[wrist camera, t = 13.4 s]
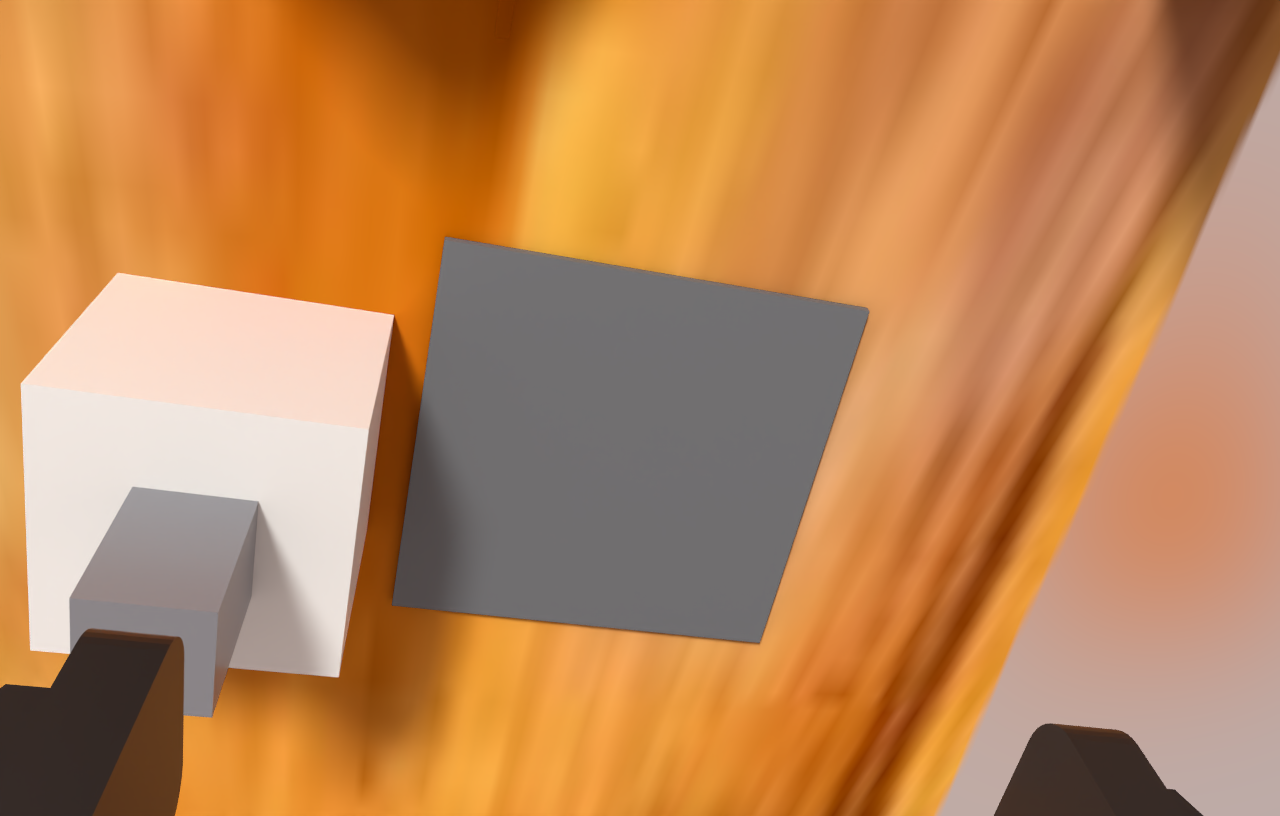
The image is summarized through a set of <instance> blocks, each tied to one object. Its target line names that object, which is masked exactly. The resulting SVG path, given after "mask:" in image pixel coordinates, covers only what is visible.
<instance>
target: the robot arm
mask: <svg viewBox="0 0 1280 816" xmlns="http://www.w3.org/2000/svg"><path fill="white" fill-rule="evenodd" d="M183 714H184V644H183V640H182V639H181V637H178V636H168V635H158V634H147V633H137V632H127V631H116V630H106V629H96V628H90V629H87V630H86V631H85V632H84V633H83V634H82V635H81V636H80V638H79V639H78V641H77V643H76V644H75V646H74V648H73V650H72V651H71V653H70V655H69V657H68V658H67V660H66V662H65V664H64V665H63V667H62V669H61V670H60V672H59V674H58V676H57V677H56V679H55V681H54V683H53V684H52V686H51V688H43V687H32V686H21V685H9V684H5V685H4V686H3V687H1V688H0V816H175V812H176V808H177V803H178V798H179V792H180V786H181V778H182V766H183ZM994 816H1203V815H1202V814H1201V813H1199V811H1197V810H1196V809H1195V808H1194V807H1193V806H1192V805H1191V804H1190V803H1189V802H1188V801H1186V800H1185V799H1184V798H1183V797H1182V796H1181V795H1180V794H1179V793H1178V792H1177V791H1176V790H1173V789H1166V787H1165V786H1164V784H1163V782H1162V781H1161V779H1160V778H1159V776H1158V775H1157V773H1156V772H1155V770H1154V769H1153V767H1152V766H1151V764H1150V763H1149V761H1148V760H1147V758H1146V757H1145V755H1144V754H1143V752H1142V751H1141V750H1140V748H1139V746H1138V745H1137V744H1136V742H1135V741H1134V740H1133V739H1132V738H1131V737H1130V736H1129V735H1128V734H1126V733H1124V732H1122V731H1119V730H1112V729H1102V728H1091V727H1081V726H1071V725H1061V724H1045V725H1042V726H1040V727H1039V728H1038V729H1036V731H1035V732H1034V733H1033V734H1032V737H1031V738H1030V740H1029V742H1028V744H1027V746H1026V748H1025V751H1024V752H1023V755H1022V757H1021V759H1020V761H1019V763H1018V765H1017V768H1016V769H1015V772H1014V774H1013V776H1012V778H1011V780H1010V782H1009V784H1008V786H1007V789H1006V791H1005V793H1004V795H1003V797H1002V799H1001V802H1000V803H999V806H998V808H997V810H996V812H995V814H994Z"/></svg>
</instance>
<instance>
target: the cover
mask: <svg viewBox="0 0 1280 816" xmlns="http://www.w3.org/2000/svg"><path fill="white" fill-rule="evenodd" d="M393 320H394V315H391V314H384V313H378V312H371V311H365V310H358V309H352V308H345V307H339V306H332V305H326V304H319V303H313V302H306V301H299V300H293V299H286V298H280V297H273V296H267V295H260V294H254V293H247V292H241V291H234V290H227V289H221V288H214V287H208V286H201V285H195V284H188V283H182V282H175V281H169V280H162V279H156V278H149V277H142V276H136V275H129V274H123V273H117V274H116V276H115V277H114V278H113V279H112V280H111V281H110V282H109V284H108V285H107V286H106V287H105V288H104V289H103V290H102V291H101V293H100V294H99V295H98V296H97V297H96V298H95V299H94V301H93V302H92V303H91V304H90V305H89V306H88V307H87V309H86V310H85V311H84V312H83V313H82V314H81V315H80V317H79V318H78V319H77V320H76V321H75V322H74V323H73V325H72V326H71V327H70V328H69V329H68V330H67V331H66V333H65V334H64V335H63V336H62V337H61V338H60V339H59V341H58V342H57V343H56V344H55V345H54V346H53V347H52V349H51V350H50V351H49V352H48V353H47V354H46V355H45V357H44V358H43V359H42V360H41V361H40V362H39V363H38V365H37V366H36V367H35V368H34V369H33V370H32V371H31V373H30V374H29V375H28V376H27V377H26V378H25V379H24V381H23V382H22V383H21V400H22V428H23V456H24V485H25V513H26V541H27V570H28V598H29V626H30V650H33V651H44V652H56V653H67V654H70V653H71V651H72V650H73V648H74V646H75V644H76V643H77V641H78V639H79V638H80V636H81V635H82V634H83V633H84V632H85V631H86V630H87V629H90V628H96V629H106V630H116V631H127V632H137V633H147V634H158V635H168V636H178V637H181V639H182V640H183V644H184V714H183V715H188V716H201V717H212V716H213V713H214V710H215V707H216V704H217V701H218V698H219V695H220V692H221V689H222V685H223V682H224V679H225V676H226V673H227V670H228V668H238V669H249V670H261V671H272V672H283V673H295V674H306V675H317V676H329V677H339V673H340V668H341V663H342V657H343V652H344V647H345V642H346V637H347V631H348V626H349V621H350V616H351V610H352V605H353V600H354V595H355V590H356V584H357V579H358V574H359V569H360V563H361V558H362V553H363V548H364V543H365V537H366V532H367V525H368V517H369V510H370V502H371V494H372V486H373V478H374V470H375V462H376V454H377V446H378V438H379V430H380V423H381V415H382V407H383V399H384V391H385V383H386V375H387V367H388V359H389V351H390V344H391V336H392V328H393Z"/></svg>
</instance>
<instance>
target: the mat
mask: <svg viewBox="0 0 1280 816" xmlns="http://www.w3.org/2000/svg"><path fill="white" fill-rule="evenodd" d="M868 314H869V310H868V309H867V308H865V307H859V306H853V305H847V304H841V303H835V302H829V301H823V300H817V299H811V298H805V297H799V296H794V295H788V294H782V293H776V292H770V291H764V290H758V289H752V288H746V287H740V286H734V285H728V284H723V283H717V282H711V281H705V280H699V279H693V278H687V277H681V276H675V275H669V274H663V273H657V272H652V271H646V270H640V269H634V268H628V267H622V266H616V265H610V264H604V263H598V262H592V261H586V260H580V259H575V258H569V257H563V256H557V255H551V254H545V253H539V252H533V251H527V250H521V249H515V248H509V247H504V246H498V245H492V244H486V243H480V242H474V241H468V240H462V239H456V238H450V237H445V241H444V247H443V254H442V261H441V268H440V275H439V282H438V289H437V296H436V303H435V310H434V317H433V324H432V331H431V338H430V344H429V351H428V358H427V365H426V372H425V379H424V386H423V393H422V400H421V407H420V414H419V421H418V428H417V435H416V441H415V448H414V455H413V462H412V469H411V476H410V483H409V490H408V497H407V504H406V511H405V518H404V525H403V532H402V538H401V545H400V552H399V559H398V566H397V573H396V580H395V587H394V594H393V601H392V605H393V606H403V607H412V608H422V609H432V610H442V611H452V612H461V613H471V614H481V615H491V616H501V617H510V618H520V619H530V620H540V621H550V622H559V623H569V624H579V625H589V626H599V627H609V628H618V629H628V630H638V631H648V632H658V633H667V634H677V635H687V636H697V637H707V638H716V639H726V640H736V641H746V642H756V643H760V640H761V637H762V634H763V631H764V628H765V625H766V622H767V619H768V616H769V613H770V610H771V607H772V604H773V601H774V598H775V595H776V592H777V589H778V586H779V583H780V580H781V577H782V574H783V571H784V568H785V565H786V562H787V559H788V556H789V553H790V550H791V547H792V544H793V541H794V538H795V535H796V532H797V529H798V526H799V523H800V520H801V517H802V514H803V510H804V507H805V504H806V501H807V498H808V495H809V492H810V489H811V486H812V483H813V480H814V477H815V474H816V471H817V468H818V465H819V462H820V459H821V456H822V453H823V450H824V447H825V444H826V441H827V438H828V435H829V432H830V429H831V426H832V423H833V420H834V417H835V414H836V411H837V408H838V405H839V402H840V399H841V396H842V393H843V390H844V387H845V384H846V381H847V378H848V375H849V372H850V369H851V366H852V363H853V360H854V357H855V354H856V351H857V348H858V345H859V342H860V339H861V336H862V333H863V330H864V326H865V323H866V320H867V317H868Z"/></svg>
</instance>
